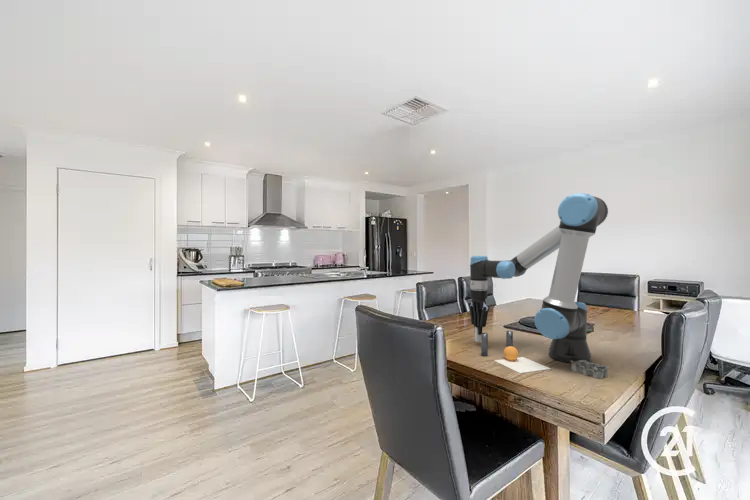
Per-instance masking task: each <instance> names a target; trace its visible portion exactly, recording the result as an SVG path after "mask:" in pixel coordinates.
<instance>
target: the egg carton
mask: <svg viewBox="0 0 750 500" xmlns="http://www.w3.org/2000/svg"><path fill="white" fill-rule="evenodd" d="M570 362H571V363H570V364H571V365H570V370H571V371H572V372H573V373H580V374H582V375H584V376H590V377H593V378H594V379H600V380H602V379H604V377H605V378H607V377H608V369H609V367H610V366H609V365H602V364H599V363H594V362H588V361H586V360H579V361H576V362H573V361H571V360H570Z"/></svg>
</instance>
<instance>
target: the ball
mask: <svg viewBox="0 0 750 500" xmlns="http://www.w3.org/2000/svg"><path fill="white" fill-rule="evenodd" d="M519 355H520V354H519V350H518V349H517V348H516V347H514V346H513V347H512V346H508V347H506V346H505V348H504V350H503V356H504V357H505V358H504V359H508V360H510V361H514V360H516V359H517V358H518V357H519Z"/></svg>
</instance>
